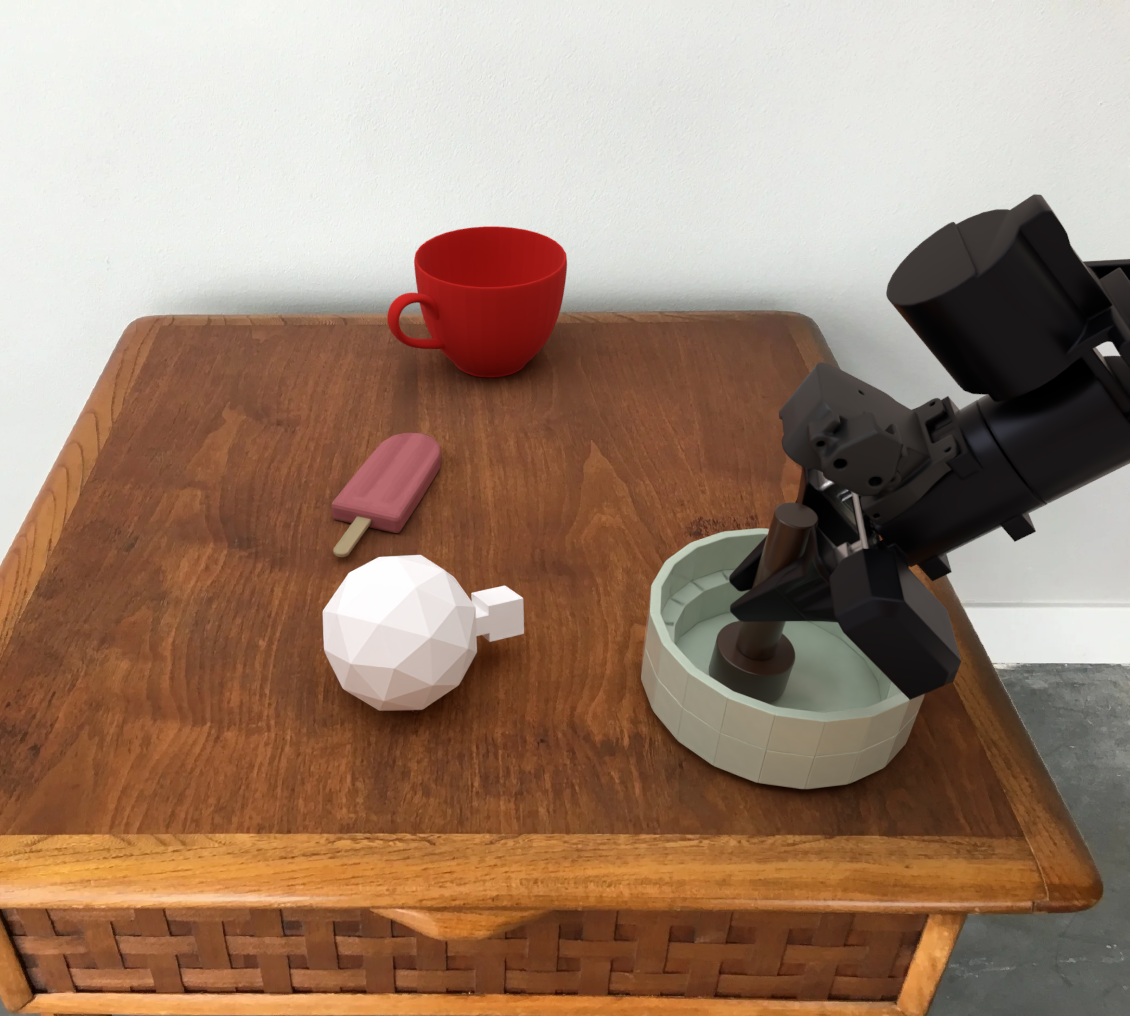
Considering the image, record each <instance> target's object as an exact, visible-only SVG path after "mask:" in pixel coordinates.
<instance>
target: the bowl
mask: <svg viewBox="0 0 1130 1016" xmlns="http://www.w3.org/2000/svg"><path fill="white" fill-rule="evenodd" d="M768 531H769V528H765V527H763V528H762V527H761V528H760V527H757V528H746V529H735V530H725V531H720V532H717V533H714V534H712V535H709V536H705V537H703V538H700V539H697V540H694V541H692V542H689V543H688V544H687V545H685V546H683V547H682V548H681V549H680V550H678V551H677V552H675V553H674V554H673V555H671V556H669V558H667V559H666V560H665V561H664V563H663V564H662V566H661V568H660V569H659V571H658V573H657V575H656V576H655V577H654V579H653V581H652V583H651V585H650V592H649V597H648V599H649V600H648V607H647V615H646V621H645V630H644V638H643V643H642V653H641V671H640V680H641V683H642V685H643V688H644V691H645V694H646V697H647V700H648V702H649V705H650V707H651V710H652V712H653V713H654V714H655V715H656V716H657V718H658V719H659V720H660V722H661V723H662V724H663V726H665V728H666V729H667V730H668V731H669V732H670V734H671V735H672V736H673V738H674V739H675V740H677V742H678V743H679V744H681V745H683V746H684V747H686V748H687V749H689V750H690V751H691V752H693V753H694V754H696V755H697V756H698V757H700V758H702V760H704V761H706V762H707V763H709V764H710V765H711V766H713V767H714V768H718V769H720V770H723V771H726V772H728V773H730V774H732V775H736V776H738V777H741V778H743V779H746V780H748V781H752V782H754V783H756V784H762V785H769V786H778V787H784V788H792V789H799V790H813V789H820V788H829V787H836V786H837V787H838V786H846V785H850V784H852V783H854V782H857V781H859V780H861V779H863V778H865V777H867V776H870V775H872V774H874V773H877V772H879V771H880V770H883V769H884V768H886V767H887V765H888V764H889V763H890V762H891V761H892V760H893V759H894V758H895V757H896V755H897V754H899V752H900V751H901V750H902V749H903V747H904V746H905V745H906V744H907V742H908V741H909V738H910V734H911V732H912V729H913V727H914V724H915V722H916V719H917V717H918V714H919V711H920V708H921V706H922V703H923V701H924V699H925V695H926V694H923V695H921V696H918V697H916V698H914V699H911V700H909V699H908V698H907V697H906V696H905V695H904V694H903V693H902V692H901V691H900V690H899V689H898V687H897V686H896V685H895V684H894V683H893V682H892V681H891V680H890V679H889V678H888V677H887V676H886V675H885V674H884V673H883V672H882V671H881V670H880V669H879V668H878V667H877V666H876V665H875V664H874V663H873V662H872V661H871V660H870V659H869V658H868V657H867V656H866V655H865V654H864V653H863V652H862V651H861V650H860V649H859V648H858V647H857V646H856V645H855V644H854V643H853V642H852V641H851V640H850V639H849V638H848V637H847V636H846V635H845V634H844V633H843V631H842V629H841V627H840V626H839V624H838V623H837V622H822V621H786V623H785V626H784V629H783V632H782V633H783V634H784V635H785V636H786V637H787V638H788V639H789V640H790V642H791V643H792V645H793V647H794V650H795V662H794V665H793V668H792V671H791V673H790V676H789V679H788V682H787V685H786V688H785V691H784V693H783V694H782V696H781V697H780V698H779V699H777V700H776V701H774V702H772V703H770V704H768V703H765V702H762V701H759V700H756V699H753V698H751V697H748V696H745V695H742V694H739V693H737V692H734V691H732V690H731V689H729V688H727V687H726V686H724V685H723V684H721V683H720V682H718V681H716V680H715V679H713V678H712V677H710V676H709V664H710V661H711V657H712V653H713V650H714V646H715V642H716V639H717V635H718V633H719V632H720V630H721V629H722V628H723V627H724V626H726V625H728V624H730V623H732V622H736V621H739V620H738V619H737V618H736V617H735V616H734V615H733V614H732V613H731V612H730V605H731V604H732V603H733V602H735V601H736V600H737V599H739V598H740V597H741V596H742V595H744V594H745V593H746V592H748V591H749V590H748V591H743V592H740V591H738V590H737V589H736V588H734V587H733V586H732V585H731V584H730V582H729V576H730V574H731V573H732V572H733V571H734V570H735V569H736V568H737V567H738V566H739V565H740V564H741V563H742V562H743V560H744V559H745V558H746V557H747V556H748V555H749V554H750V553H751V552H752V551H753V550H754V549H755V548H756V546H757V545H758V544H759V543H760V542H761V541H762V540H763V539H764V538H765V537H766V536H767V535H768Z"/></svg>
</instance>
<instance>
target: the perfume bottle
mask: <svg viewBox="0 0 1130 1016" xmlns="http://www.w3.org/2000/svg"><path fill="white" fill-rule="evenodd" d="M524 605H525V604H524V597H522V596H521V595H519V593H517V592H515V591H514V590H512V589H511V588H509V587H508V586H507V585H501V586H497V587H492V588H487V589H482V590H478V591H474V592H471V598H470V597H469V596H468V594H467V593H466V591H465V589H463V587H462V586H461V585H460V583H459V582H458V580H457V579H456V578H455V576H453V575H452V574H450V573H449V572H447V570H445V569H444V568H442V567H440V566H439V565H437V564H436V563H435V562H433V561H431V560H430V559H428V558H426V557H425V556H424V555H422V554H410V555H408V554H407V555H390V556H378V557H376V558H374V559H373V560H370V561H368V562H367V563H364V564H363V565H360V566H359V567H357V568H355V569H354V570H352V571H349V572H348V573H347V575H346V576H345V578H344V579H343V581H342V582H341V584H340V585H339V587H337V589H336V591H335V592H334V594H333V595H332V597H331V598H330V599H329V601H328V603H327V604H326V605H325V607H324V609H323V610H322V632H323V650H324V651H323V652H324V653H325V656H326V659H327V661H328V662H329V665H330V666H331V668H332V670H333V672H334V674H335V676H336V678H337V680H338V682H339V684H340V686H341V688H342V689H343V690H344V691H345V692H347V693H349V694H350V695H352V696H354V697H355V698H357V699H359V700H361V701H362V702H364V703H366V704H367V705H369V706H371V707H372V708H374V709H375V710H376V711H382V712H383V711H422V710H425V709H426V708H427V707H428V706H430V705H432V704H433V703H435V702H436V701H437V700H440V699H441V698H442V697H443V696H445V695H446V694H448V693H449V692H451V691H452V690H454V689H455V688H457V687H458V686H460V684H461V682H462V680H463V679H464V677H465V675H466V673H467V671H468V669H469V668H470V666H471V664H472V663H473V660H474V658H475V657H476V655H477V653H478V643H477V642H478V641H477V640H478V639H477V637H480V636H482V637H483V638H484V639H485V640H487V641H488V642H489V643H491V642H496V641H499V640H503V639H508V638H512V637H517V636H520V635H524V634H525V624H524V623H525V613H524V608H525V607H524Z"/></svg>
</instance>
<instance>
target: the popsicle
mask: <svg viewBox="0 0 1130 1016" xmlns="http://www.w3.org/2000/svg"><path fill="white" fill-rule="evenodd" d="M441 467H442V449H441V445H440V444H439V442H437V441H436V439H435V438H434V437H431V436H430V435H427V434H426V433H420V432H403V433H399V434H394V435H391V436H390V437H388V438H386V439H385V440H383V441H381V442H380V443H379V444H378V445H377V447H375V449H374V450H373V452H372V453H371V454H370V455H369V456H368V458H367V459H366V460H365V461H364V462H363V463H362V465H361V466H360V467H359V469H357V471H356V472H355V473H354V474H353V476H352V477H351V478H350V479H349V481H348V482H347V483H346V484H345V486H343V488H342V489H341V491H340V492H339V493H338V495H337V496H336V497H335V498H334V500H333V501H332V503H331V513H332V518H333V519H334V520H336V521H340V522H345V523H349V524H350V525H349V527H348V528H347V530H346V531H345V532H344V533H343V535H342V536H341V538H340V539H339V540H338V542H337V543H336V545H335V546H334V547H333V548H332V551H333V555H334V556H336V557H338V558H345V557H348V556H349V555H350V554H351V552H352V551H353V549H354V548H355V547H356V545H357V544H358V542H359V541H360V540H361V538H362V537H363V535H364V534H365V532H366V531H367V530H368V528H370V529H376V530H380V531H384V532H388V533H393V534H399V533H400V532H401V531H402V530H403V528H404V526H405V525H406V523H407V522H408V521H409V519H410V518H411V516H412V514H413V513H414V511H415V510H416V508H417V506H418V505H419V504H420V502H421V500H423V497H424V496H425V494H426V492H427V490H428V489H429V487H430V485H431V484H432V482H433V481H434V479H435V478H436V476H437V474H438V472H440V469H441Z"/></svg>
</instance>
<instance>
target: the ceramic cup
mask: <svg viewBox="0 0 1130 1016" xmlns="http://www.w3.org/2000/svg"><path fill="white" fill-rule="evenodd" d="M413 264H414V275H415V285H416V291H417V292H407V293H402V294H401V295H399V296H397V297H396V298H395V299H394V300H392V302H391V303H390V306H389V307H388V310H387V314H386V315H387V317H386V318H387V319H386V320H387V321H386V322H387V325H388V328H389V330H390V332H391V333H392V335H393V337H395V339H397V340H398V342H400V343H402V344H403V345H405V346H408V347H411V348H413V349H414V348H415V349H423V350H439V351H441V353H442V354H444V356H445V357H446V358H447V359H449V361H451V362H452V363H453V364H454V365H455V367H456V368H457V369H458V370H460V371H462V372H463V373H466V374H467V375H471V376H473V377H479V378H500V377H501V378H502V377H506V376H510V375H513V374H516V373H517V372H520V370H522V369H524V367H525V366H526V364H527V363H529V362H530V361H531V360H532V359H533V358H534V357H536V355H537V354H538V353H539V352H540V350H542V348H544V346H545V344H546V343H547V342H548V340H549V339H550V337H551V335H552V333H553V331H554V330H555V326H556V324H557V321H558V318H559V316H560V312H561V309H562V305H563V300H564V295H565V294H564V293H565V289H566V282H567V281H566V280H567V272H568V258H567V253H566V250H565V249H564V247H563V246H562V245H561V244H560V243H558V241H556V240H554V239H553V238H551V237H550V236H547V235H545V234H542V233H539V232H536V231H532V230H528V229H525V228H517V227H510V226H496V225H495V226H485V225H483V226H474V227H473V226H472V227H464V228H459V229H454V230H449V231H446V232H443V233H441V234H438V235H435V236H434V237H432V238H430V239H428V240H426V241H425V242H423V243H422V244H421V245H419V247H418V248H417V250H416V251H415V253H414V259H413ZM413 304H419V307H420V311H421V313H422V319H423V321H424V324H425V327H426V329H427V331H428V333H429V335H430V337H431V338H416V337H411V336H408V335H407V334H405V333H404V332H403V330H402V329H401V326H400V317H401V314H402V312H403V311H404V310H405V308H407V307H408V306H409V305H413Z"/></svg>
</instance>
